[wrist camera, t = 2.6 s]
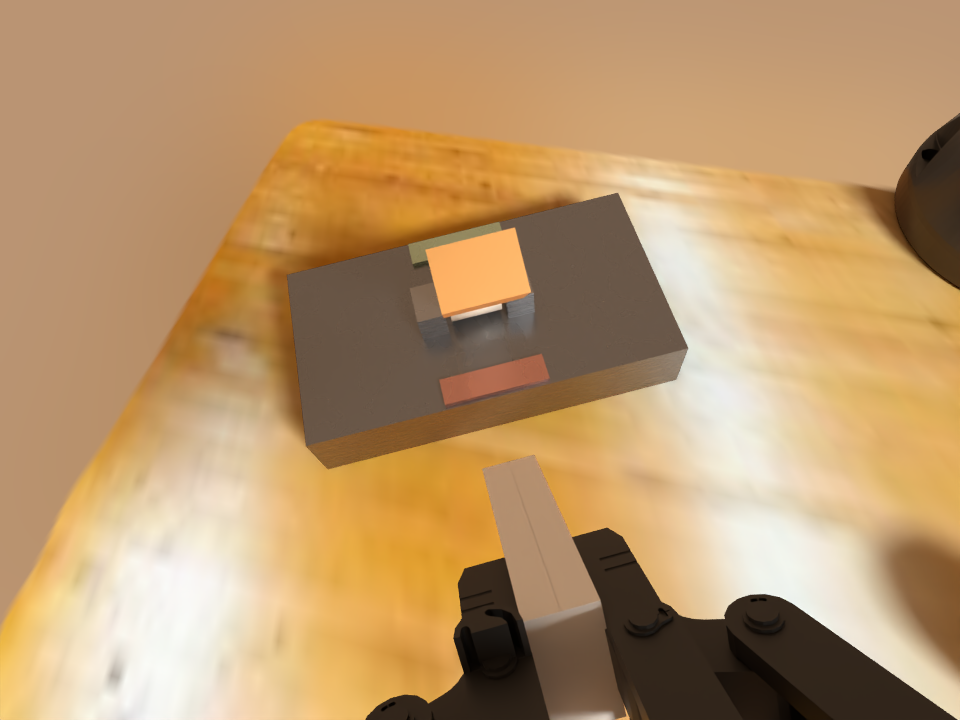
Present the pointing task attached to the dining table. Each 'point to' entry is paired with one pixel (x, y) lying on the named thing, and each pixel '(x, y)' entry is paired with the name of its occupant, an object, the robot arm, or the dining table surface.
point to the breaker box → (478, 336)
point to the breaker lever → (478, 274)
